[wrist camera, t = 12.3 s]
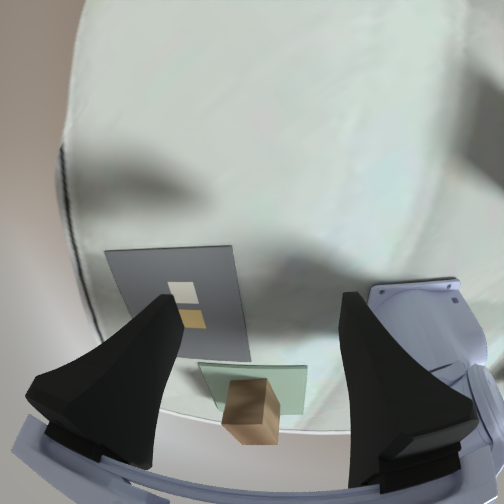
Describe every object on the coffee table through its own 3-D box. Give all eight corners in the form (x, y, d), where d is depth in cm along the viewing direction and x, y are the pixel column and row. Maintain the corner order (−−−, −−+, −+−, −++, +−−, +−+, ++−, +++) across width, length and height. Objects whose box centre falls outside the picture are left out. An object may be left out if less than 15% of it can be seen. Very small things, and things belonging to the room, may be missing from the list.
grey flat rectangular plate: (231, 245, 21) (231, 247, 21) (251, 360, 28) (250, 362, 28) (105, 251, 23) (103, 252, 22) (151, 352, 30) (150, 354, 29)
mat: (307, 365, 27) (307, 368, 27) (303, 412, 33) (303, 414, 33) (200, 362, 29) (199, 365, 29) (219, 408, 35) (219, 411, 35)
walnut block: (267, 378, 29) (262, 424, 24) (280, 404, 32) (277, 444, 27) (230, 380, 30) (221, 424, 25) (248, 406, 33) (242, 444, 28)
